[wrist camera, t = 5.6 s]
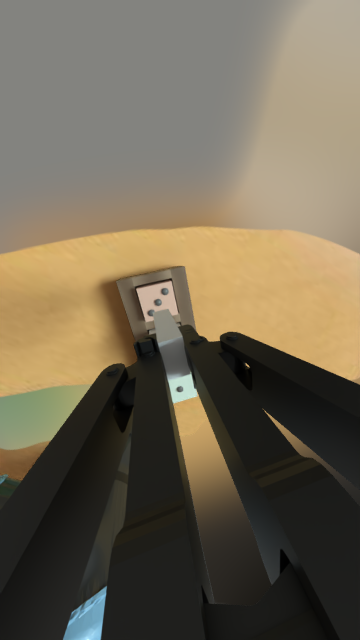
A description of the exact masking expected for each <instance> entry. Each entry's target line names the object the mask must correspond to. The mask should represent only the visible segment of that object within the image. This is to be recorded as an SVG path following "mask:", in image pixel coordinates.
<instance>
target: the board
mask: <svg viewBox="0 0 360 640" xmlns="http://www.w3.org/2000/svg"><path fill="white" fill-rule="evenodd" d="M165 279H169V280H170V281H172V286H173V291H174V296H175V300H176V305H177V310H178V314H177V315H173V316H172V317H173V319H174V321H175V323H177V322H179V323H180V325H181V326H183V325H187V324H189V325H191V326H192V327H193V328H194V329H195V331H196V327H195V321H194V316H193V310H192V304H191V299H190V293H189V288H188V282H187V276H186V271H185V266H177V267H173V268H168V269H163V270H159V271H154V272H150V273H145V274H140V275H136V276H131V277H126V278H122V279H119V280H117V281H116V283H117V286H118V289H119V292H120V295H121V298H122V301H123V304H124V308H125V311H126V314H127V317H128V320H129V323H130V326H131V329H132V332H133V335H134V338H135V341H137V340H139V339H141V338H143V337H144V336H146V335H149V329H153V328H155V323H154V320H153V321H149V322H146V321H145V318H144V314H143V311H142V307H141V304H140V300H139V297H138V293H137V290H136V289H137V286H138V285H142V284H147V283H151V282H156V281H160V280H165Z"/></svg>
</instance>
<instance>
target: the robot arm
mask: <svg viewBox="0 0 360 640" xmlns="http://www.w3.org/2000/svg"><path fill="white" fill-rule="evenodd" d="M153 317H154V323H155V330H156V333H154V334H150V335H146V336H144V337H143V338H141V339H139V340H137V341H136V342H135V343H134V348H135V351H136V354H137V357H138V358H137V362H136V363H134V364H133V365H131V366H129V367H127V368H125V365H124V364H121V363H120V364H113V365H111V366H108V367H107V368H106V369H104V370H103V371H102V372H101V373H100V375H99V376H98V378H97V379H96V380H95V382H94V383H93V384H92V386H91V387H90V389H89V390H88V391H87V393H86V394H85V395H84V397H83V398H82V400H81V401H80V402H79V403H78V405H77V406H76V408H75V409H74V410H73V412H72V413H71V414H70V416H69V417H68V419H67V420H66V421H65V423H64V424H63V425H62V427H61V428H60V430H59V431H58V432H57V434H56V435H55V436H54V438H53V439H52V440H51V442H50V443H49V444H48V446H47V447H46V449H45V450H44V451H43V453H42V454H41V455H40V457H39V458H38V459H37V461H36V462H35V464H34V465H33V466H32V468H31V469H30V470H29V472H28V473H27V474H26V476H25V477H24V479H23V480H22V481H20V480H16V479H12V478H8V475H7V474H4V475H2V476H1V475H0V640H360V506H359V505H358V504H357V502H355V500H354V499H353V498H352V497H351V496H350V495H349V493H348V492H347V491H346V490H345V489H344V488H343V487H342V485H341V484H340V483H339V482H338V481H337V480H336V479H335V478H334V476H333V475H332V474H330V472H329V471H328V470H327V469H326V468H325V467H324V466H323V465H322V464H320V463H319V462H317V461H316V460H314V459H313V458H307V457H303V456H301V455H300V454H299V453H298V452H297V451H296V450H295V449H294V448H293V446H292V445H291V444H290V442H289V441H288V440H287V439H286V437H285V436H284V435H283V434H282V433H281V431H280V430H279V429H278V428H277V427H276V425H275V424H274V423H273V421H272V420H271V419H270V418H269V416H268V415H267V414H266V413H265V411H266V412H267V413H268V414H270V415H271V416H272V417H273V418H274V419H275V420H277V421H278V422H279V423H280V424H281V425H283V426H284V427H285V428H286V429H288V430H289V431H290V432H291V433H292V434H293V435H295V436H296V437H297V438H298V439H299V440H301V441H302V442H303V443H304V444H305V445H307V446H308V447H309V448H310V449H311V450H313V451H314V452H315V453H316V454H317V455H318V456H320V457H321V458H322V459H323V460H324V461H326V462H327V463H328V464H329V465H330V466H332V467H333V468H334V469H335V470H336V471H338V472H339V473H340V474H341V475H342V476H344V477H345V478H346V479H347V480H348V481H350V482H351V483H352V484H353V485H354V486H355V487H357V488H358V489H359V490H360V385H359V384H357V383H354V382H352V381H350V380H348V379H345V378H343V377H341V376H338V375H336V374H334V373H331V372H329V371H327V370H324V369H322V368H320V367H317V366H315V365H313V364H310V363H308V362H306V361H303V360H301V359H299V358H296V357H294V356H292V355H289V354H287V353H285V352H283V351H280V350H278V349H276V348H273V347H271V346H269V345H266V344H264V343H262V342H259V341H257V340H255V339H252V338H250V337H248V336H245V335H243V334H241V333H237V332H227V333H224V334H222V335H221V336H220V341H215V342H208V340H207V339H206V338H205V337H203V336H199V335H198V333H197V332H196V331H195V329H194V328H193V327H192V326H191V325H189V324H187V325H183V326H179V327H178V326H177V325H176V323H175V321H174V319H173V317H172V315H171V313H170V311H169V309H165V310H161V311H157V312H153ZM245 363H247V364H248V365H249V367H250V368H249V367H247V366H246V364H245ZM190 371H191V373H190ZM189 374H191V375H192V380H193V385H194V389H197V392H198V394H199V397H200V399H201V402H202V404H203V407H204V409H205V412H206V414H207V417H208V419H209V422H210V424H211V427H212V429H213V432H214V434H215V437H216V439H217V442H218V444H219V446H220V449H221V452H222V454H223V456H224V459H225V461H226V464H227V466H228V469H229V471H230V474H231V476H232V479H233V481H234V484H235V486H236V489H237V491H238V494H239V496H240V499H241V501H242V504H243V506H244V509H245V511H246V513H247V516H248V519H249V521H250V523H251V526H252V529H253V531H254V534H255V537H256V540H257V544H258V547H259V550H260V554H261V557H262V560H263V562H264V565H265V568H266V571H267V573H268V576H269V579H270V581H271V584H272V586H271V587H270V588H269V590H268V591H267V592H266V593H265V595H264V596H263V597H262V598H261V600H260V601H259V602H258V603H257V604H255V605H252V606H242V605H241V606H240V605H226V604H215V603H214V598H213V593H212V589H211V584H210V580H209V576H208V571H207V567H206V563H205V559H204V554H203V549H202V545H201V540H200V535H199V530H198V525H197V520H196V515H195V510H194V505H193V500H192V495H191V490H190V485H189V480H188V475H187V470H186V465H185V460H184V455H183V450H182V445H181V440H180V436H179V431H178V426H177V421H176V416H175V411H174V406H173V401H172V396H171V391H170V386H169V382H168V381H169V380H173V379H176V378H179V377H183V376H186V375H189ZM263 409H264V410H265V411H264V410H263Z"/></svg>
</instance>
